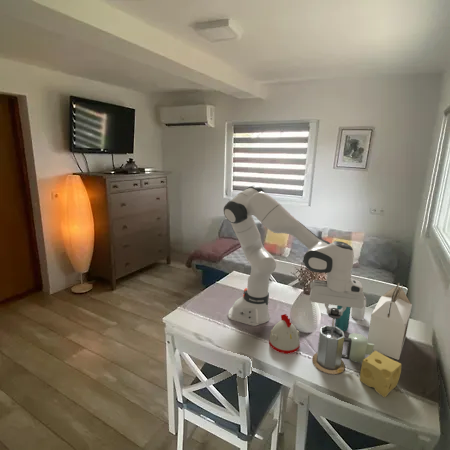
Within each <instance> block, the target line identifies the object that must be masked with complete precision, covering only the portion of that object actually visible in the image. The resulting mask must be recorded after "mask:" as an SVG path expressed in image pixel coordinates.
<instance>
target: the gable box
mask: <svg viewBox="0 0 450 450" xmlns="http://www.w3.org/2000/svg"><path fill="white" fill-rule="evenodd" d="M403 287H404V286H403V285H401V287H400V282H397V284H396V286H394V287H392V288H391V289H389V290H387V292H385V293H384V294H382V296H380V297H379V300H378V302H377V304H376V305H375V307H374V309H373V311H372V312H371V315H370V322H369V327H368V333H367V340H368V343H371V344H373V345H374V347H373V352H374V351H377V352H379V353H381V354H383V355H384V356H386V357H388V358H391V359H393V360H394V359H395V360H396V361H398V360H400V357H401V355H402V351H403V347H404V344H405V340H406V338H407V332H408V327H409V322H410V317H411V312H412V307H413V304H412V303H411V301H410V299H409V298H408V296H407V294H406V293H405V291H404V289H403Z"/></svg>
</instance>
